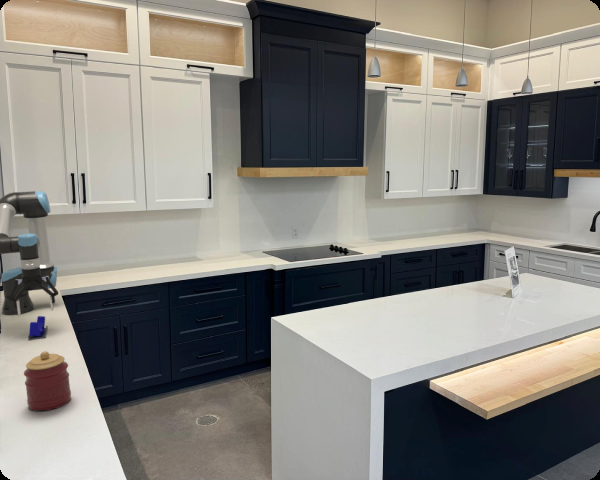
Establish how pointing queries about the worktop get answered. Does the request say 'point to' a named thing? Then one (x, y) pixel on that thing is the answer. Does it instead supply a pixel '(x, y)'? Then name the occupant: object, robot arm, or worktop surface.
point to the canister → (47, 382)
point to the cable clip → (37, 326)
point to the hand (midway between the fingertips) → (36, 312)
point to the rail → (39, 336)
